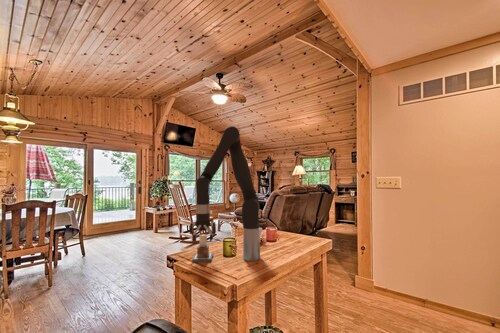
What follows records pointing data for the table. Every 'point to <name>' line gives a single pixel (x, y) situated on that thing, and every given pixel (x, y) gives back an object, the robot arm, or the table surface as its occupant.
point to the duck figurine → (261, 233)
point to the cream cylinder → (202, 240)
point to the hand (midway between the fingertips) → (203, 241)
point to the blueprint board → (202, 258)
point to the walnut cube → (203, 252)
